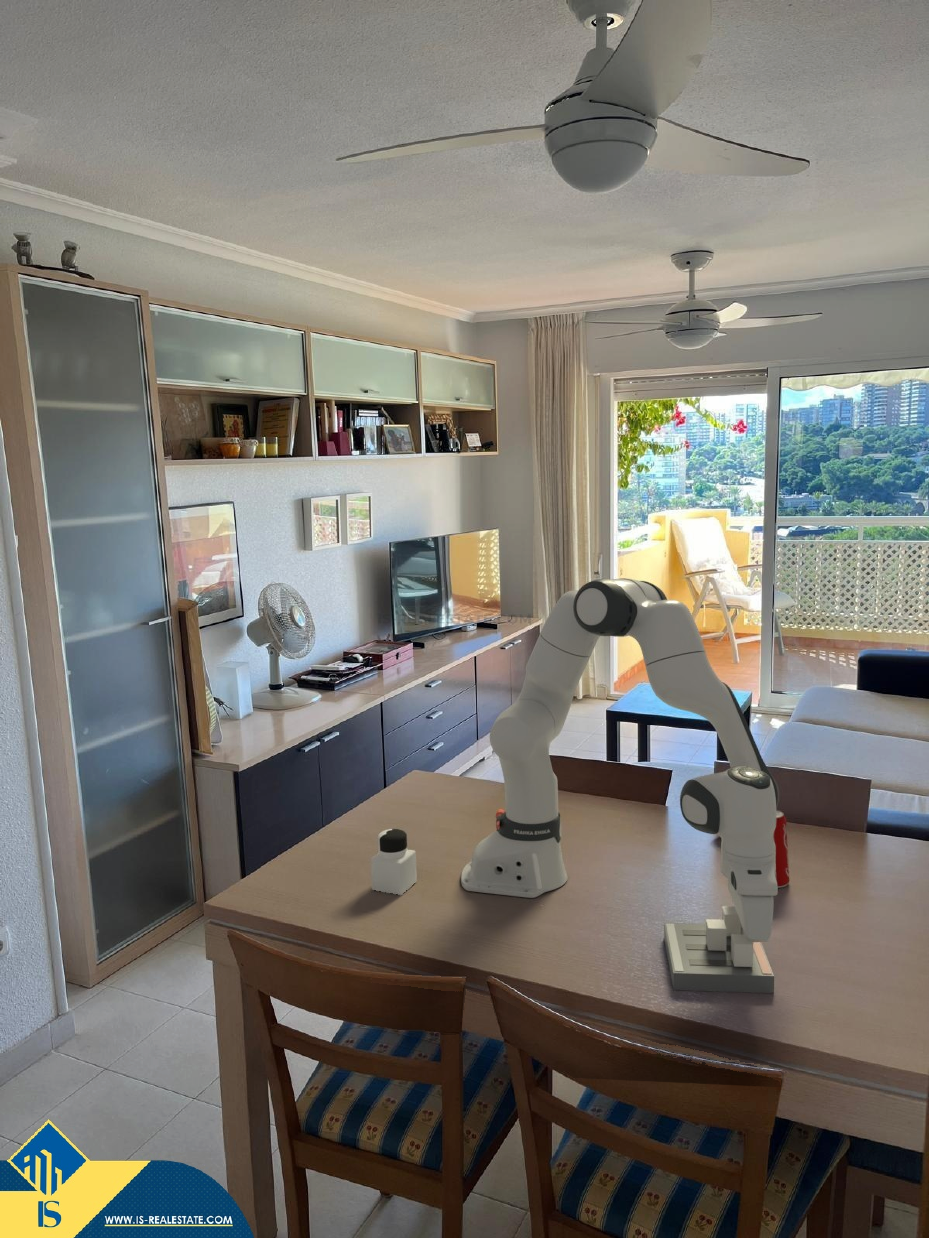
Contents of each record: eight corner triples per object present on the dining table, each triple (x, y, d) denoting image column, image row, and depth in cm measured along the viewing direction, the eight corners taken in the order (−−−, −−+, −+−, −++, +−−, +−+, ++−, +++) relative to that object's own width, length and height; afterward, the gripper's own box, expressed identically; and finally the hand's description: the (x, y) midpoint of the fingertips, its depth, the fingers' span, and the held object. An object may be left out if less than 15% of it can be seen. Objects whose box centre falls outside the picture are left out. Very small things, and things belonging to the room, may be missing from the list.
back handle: (724, 935, 160) (724, 914, 159) (721, 927, 163) (722, 906, 163) (742, 936, 160) (742, 915, 159) (739, 927, 163) (739, 906, 162)
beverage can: (791, 889, 184) (792, 819, 181) (757, 888, 185) (758, 817, 183) (787, 877, 189) (788, 808, 187) (754, 875, 191) (755, 807, 188)
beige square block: (708, 950, 156) (708, 928, 155) (705, 940, 159) (705, 919, 158) (726, 950, 155) (726, 928, 155) (723, 941, 158) (723, 919, 158)
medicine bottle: (417, 881, 194) (415, 828, 192) (401, 896, 188) (398, 840, 186) (388, 876, 197) (385, 823, 195) (371, 890, 191) (368, 836, 189)
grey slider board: (673, 989, 150) (673, 972, 150) (664, 937, 167) (663, 922, 166) (774, 993, 148) (774, 975, 148) (754, 940, 165) (754, 924, 164)
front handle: (734, 966, 150) (734, 943, 150) (731, 956, 153) (731, 933, 153) (752, 966, 150) (753, 944, 149) (749, 956, 153) (749, 934, 152)
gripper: (719, 838, 165) (718, 910, 167) (739, 889, 145) (738, 970, 147) (755, 839, 164) (754, 911, 166) (780, 890, 144) (778, 972, 146)
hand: (746, 939), depth 156 cm, fingers closed
